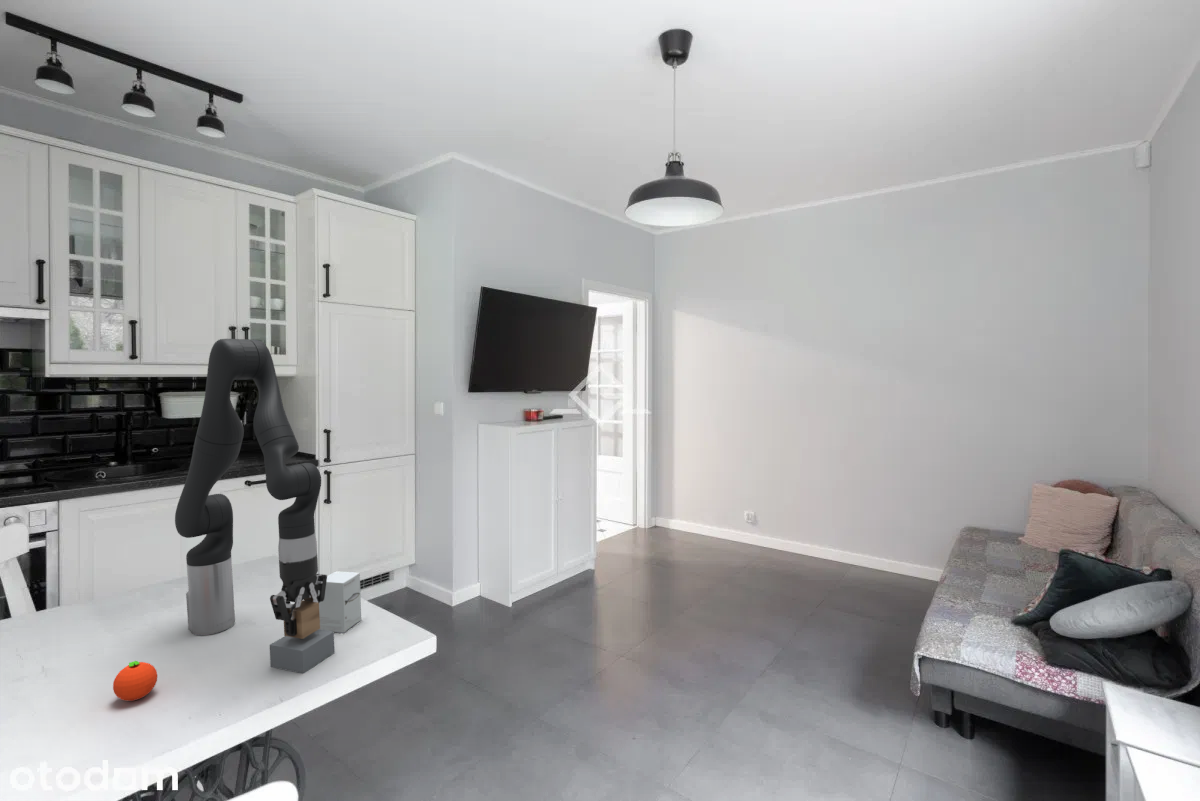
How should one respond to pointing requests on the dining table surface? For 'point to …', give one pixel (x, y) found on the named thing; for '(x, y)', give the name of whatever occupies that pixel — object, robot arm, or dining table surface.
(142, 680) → the clementine
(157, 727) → the dining table surface
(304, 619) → the walnut block
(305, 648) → the base
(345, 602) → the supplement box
